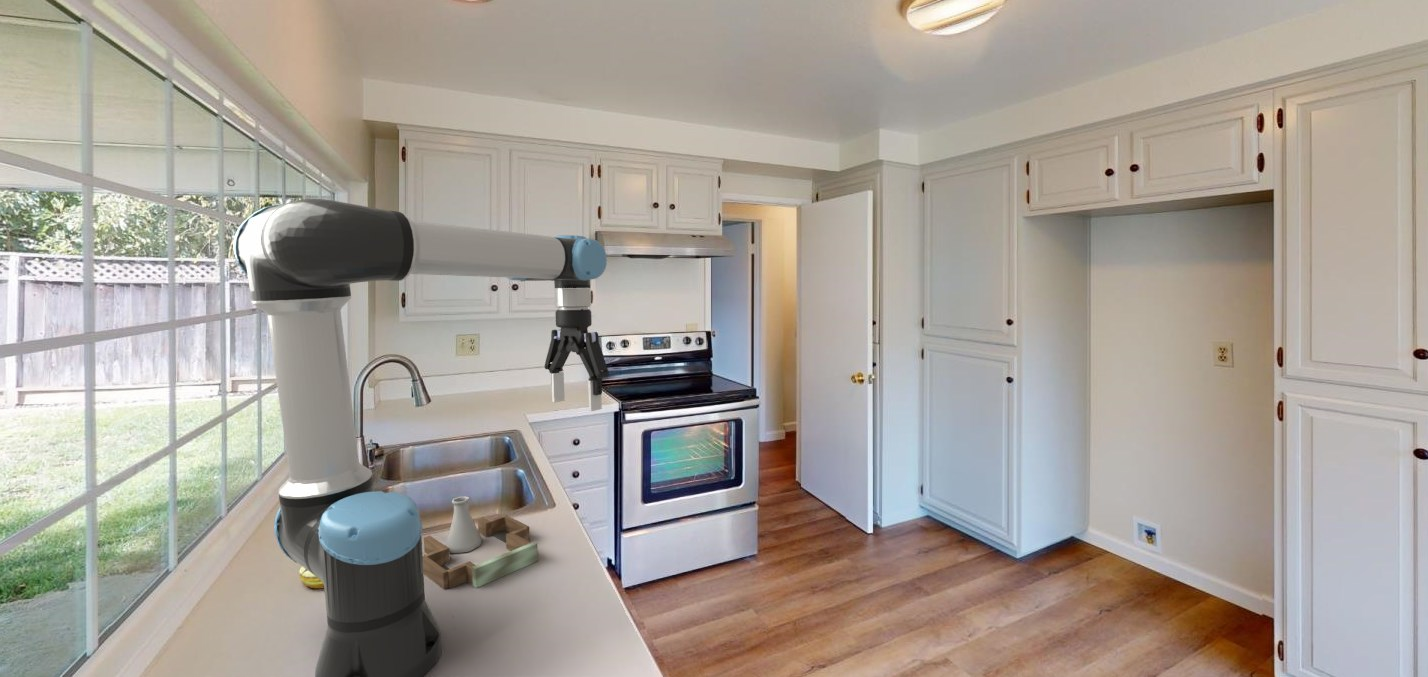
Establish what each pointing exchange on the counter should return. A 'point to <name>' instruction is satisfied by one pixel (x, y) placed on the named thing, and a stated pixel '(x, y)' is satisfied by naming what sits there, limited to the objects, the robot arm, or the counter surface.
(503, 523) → the box
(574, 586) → the counter surface
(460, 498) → the flask
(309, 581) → the decorated donut
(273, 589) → the counter surface
